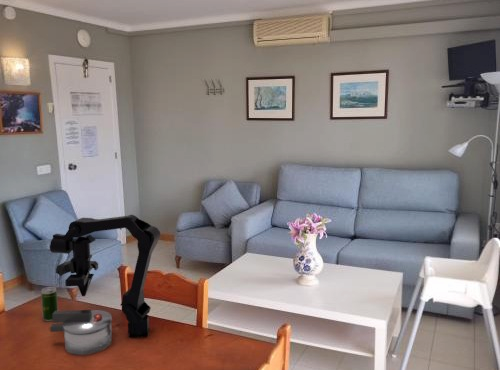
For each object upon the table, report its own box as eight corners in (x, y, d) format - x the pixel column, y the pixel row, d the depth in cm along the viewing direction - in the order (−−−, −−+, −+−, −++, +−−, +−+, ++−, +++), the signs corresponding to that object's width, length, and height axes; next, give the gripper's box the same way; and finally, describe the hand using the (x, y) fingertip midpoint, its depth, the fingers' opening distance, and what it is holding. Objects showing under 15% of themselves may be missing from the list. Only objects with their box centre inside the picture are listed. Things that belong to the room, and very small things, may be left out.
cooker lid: (116, 312, 157) (115, 301, 157) (105, 333, 142) (104, 321, 141) (62, 314, 156) (61, 302, 155) (45, 335, 141) (44, 323, 140)
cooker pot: (116, 332, 158) (115, 313, 157) (105, 354, 143) (104, 334, 142) (60, 333, 157) (59, 315, 156) (44, 356, 142) (42, 335, 141)
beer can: (60, 315, 172) (58, 285, 170) (55, 321, 166) (53, 291, 164) (46, 315, 171) (44, 286, 169) (40, 322, 166) (38, 291, 164)
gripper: (67, 246, 164) (69, 286, 167) (47, 262, 146) (50, 307, 148) (97, 246, 165) (99, 285, 167) (82, 262, 147) (84, 306, 149)
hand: (83, 295), depth 158 cm, fingers closed
